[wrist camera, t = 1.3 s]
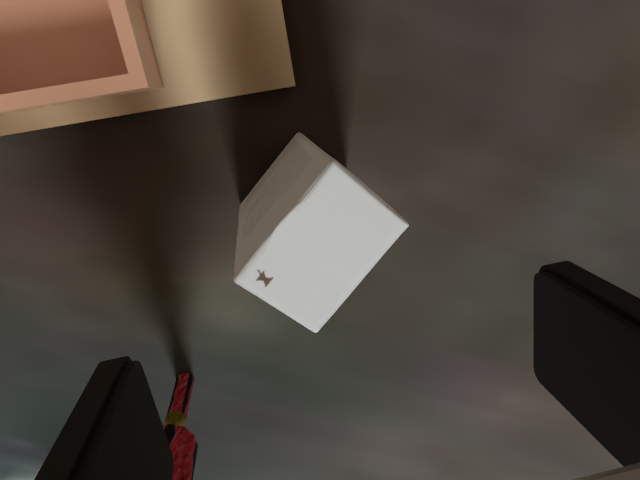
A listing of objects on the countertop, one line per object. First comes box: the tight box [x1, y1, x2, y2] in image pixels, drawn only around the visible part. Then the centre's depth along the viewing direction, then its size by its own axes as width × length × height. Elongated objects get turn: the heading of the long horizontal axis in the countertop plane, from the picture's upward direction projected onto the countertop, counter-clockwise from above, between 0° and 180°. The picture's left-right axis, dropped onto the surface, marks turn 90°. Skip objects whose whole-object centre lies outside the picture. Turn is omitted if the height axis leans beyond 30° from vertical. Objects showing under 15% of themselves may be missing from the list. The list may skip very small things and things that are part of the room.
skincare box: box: [234, 132, 409, 333], centre depth 23 cm, size 6×4×12 cm
